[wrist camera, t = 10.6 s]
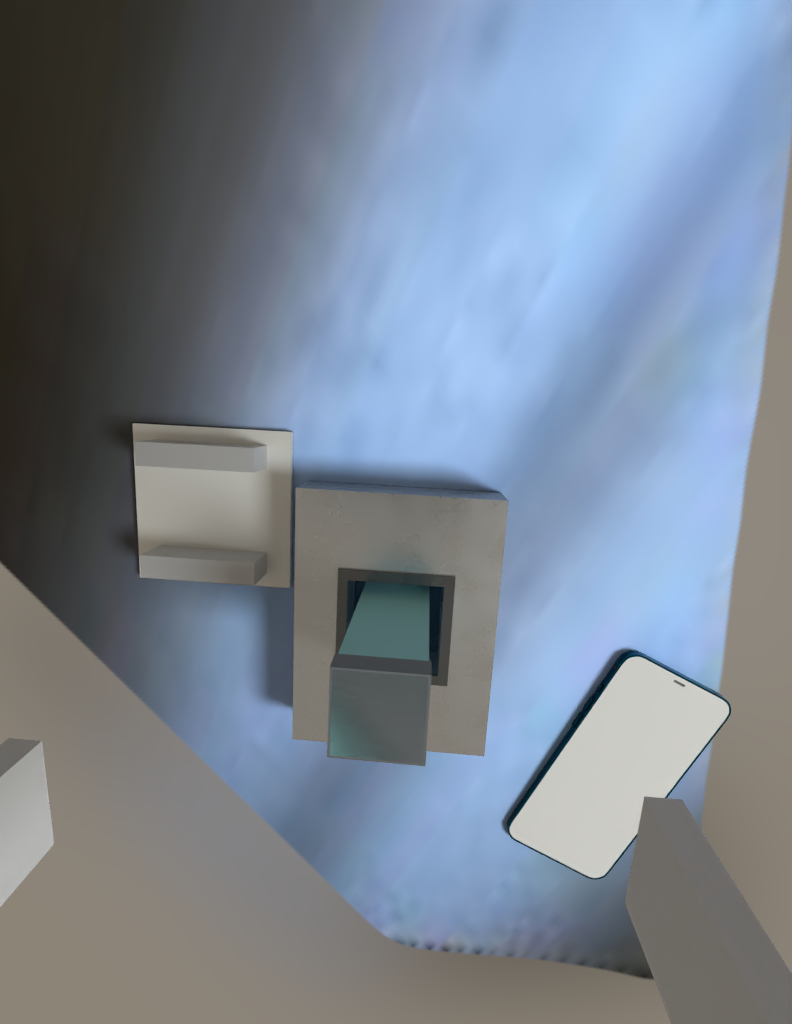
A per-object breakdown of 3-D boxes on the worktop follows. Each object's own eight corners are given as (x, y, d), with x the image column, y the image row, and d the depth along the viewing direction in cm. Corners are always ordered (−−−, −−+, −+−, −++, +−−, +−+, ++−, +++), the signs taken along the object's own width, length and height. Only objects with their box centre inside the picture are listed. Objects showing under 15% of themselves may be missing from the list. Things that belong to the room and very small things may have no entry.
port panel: (308, 481, 32) (294, 488, 28) (501, 492, 31) (509, 501, 28) (304, 711, 35) (291, 740, 32) (479, 726, 34) (484, 758, 31)
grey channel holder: (136, 423, 32) (108, 423, 29) (293, 431, 31) (279, 433, 28) (143, 575, 34) (117, 589, 31) (291, 586, 33) (278, 601, 30)
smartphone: (596, 872, 36) (730, 698, 33) (600, 884, 35) (738, 706, 32) (499, 822, 36) (623, 642, 33) (501, 833, 35) (629, 648, 32)
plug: (366, 575, 33) (329, 666, 21) (431, 580, 32) (431, 675, 21) (363, 636, 33) (327, 757, 22) (427, 641, 33) (425, 766, 21)
